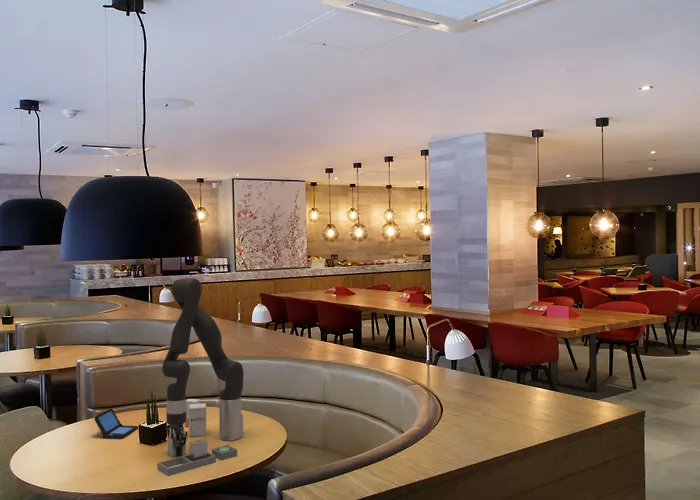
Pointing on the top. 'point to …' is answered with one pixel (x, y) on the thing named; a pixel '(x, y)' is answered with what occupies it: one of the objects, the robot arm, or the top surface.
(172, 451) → the billet
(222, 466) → the top surface
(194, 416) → the supplement box
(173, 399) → the robot arm
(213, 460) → the pocket tray
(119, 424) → the handheld game console
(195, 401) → the skincare box
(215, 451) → the button housing
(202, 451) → the seated billet
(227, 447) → the button
